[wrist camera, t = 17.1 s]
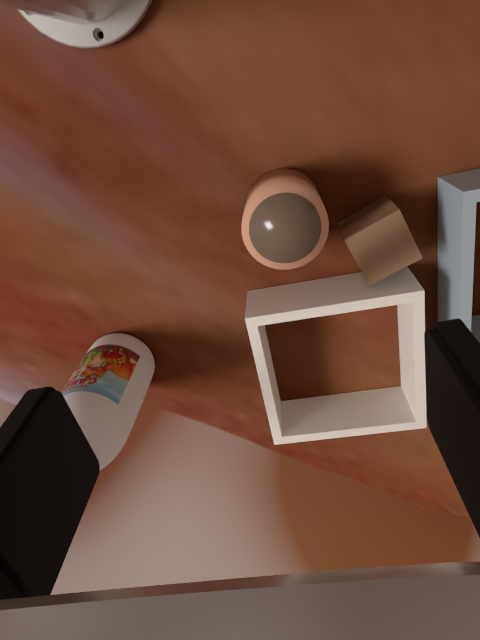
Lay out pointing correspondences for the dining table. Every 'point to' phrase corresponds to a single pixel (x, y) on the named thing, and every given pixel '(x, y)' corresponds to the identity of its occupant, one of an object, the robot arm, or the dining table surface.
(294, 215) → the terracotta pot
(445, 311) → the frame
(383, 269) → the walnut block
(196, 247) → the dining table surface
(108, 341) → the milk bottle
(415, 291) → the frame
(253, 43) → the dining table surface
